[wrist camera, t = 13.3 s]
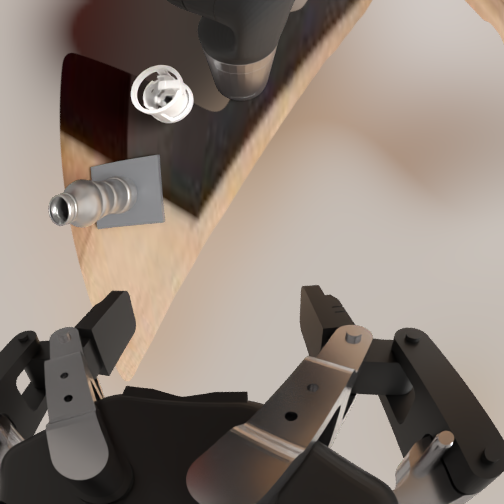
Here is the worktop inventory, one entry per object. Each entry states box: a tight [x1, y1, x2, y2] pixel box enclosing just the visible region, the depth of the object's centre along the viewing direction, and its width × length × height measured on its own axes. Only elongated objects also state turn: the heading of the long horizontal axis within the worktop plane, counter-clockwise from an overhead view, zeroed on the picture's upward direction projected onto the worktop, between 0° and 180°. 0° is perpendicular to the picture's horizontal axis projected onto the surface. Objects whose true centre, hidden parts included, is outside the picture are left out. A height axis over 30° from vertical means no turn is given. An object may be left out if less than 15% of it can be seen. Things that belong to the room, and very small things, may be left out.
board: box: [91, 155, 165, 229], centre depth 45 cm, size 12×14×1 cm
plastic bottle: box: [49, 176, 137, 227], centre depth 35 cm, size 6×7×20 cm
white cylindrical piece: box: [131, 65, 194, 123], centre depth 35 cm, size 7×7×15 cm
